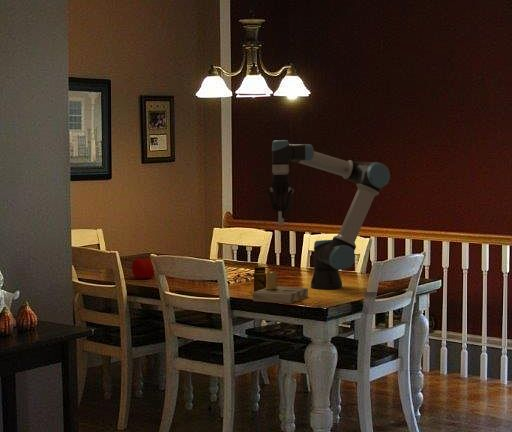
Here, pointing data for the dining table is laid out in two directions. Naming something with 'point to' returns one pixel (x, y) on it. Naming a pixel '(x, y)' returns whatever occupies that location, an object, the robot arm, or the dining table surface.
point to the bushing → (271, 281)
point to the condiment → (259, 278)
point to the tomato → (142, 268)
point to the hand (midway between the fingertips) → (281, 225)
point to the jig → (280, 295)
